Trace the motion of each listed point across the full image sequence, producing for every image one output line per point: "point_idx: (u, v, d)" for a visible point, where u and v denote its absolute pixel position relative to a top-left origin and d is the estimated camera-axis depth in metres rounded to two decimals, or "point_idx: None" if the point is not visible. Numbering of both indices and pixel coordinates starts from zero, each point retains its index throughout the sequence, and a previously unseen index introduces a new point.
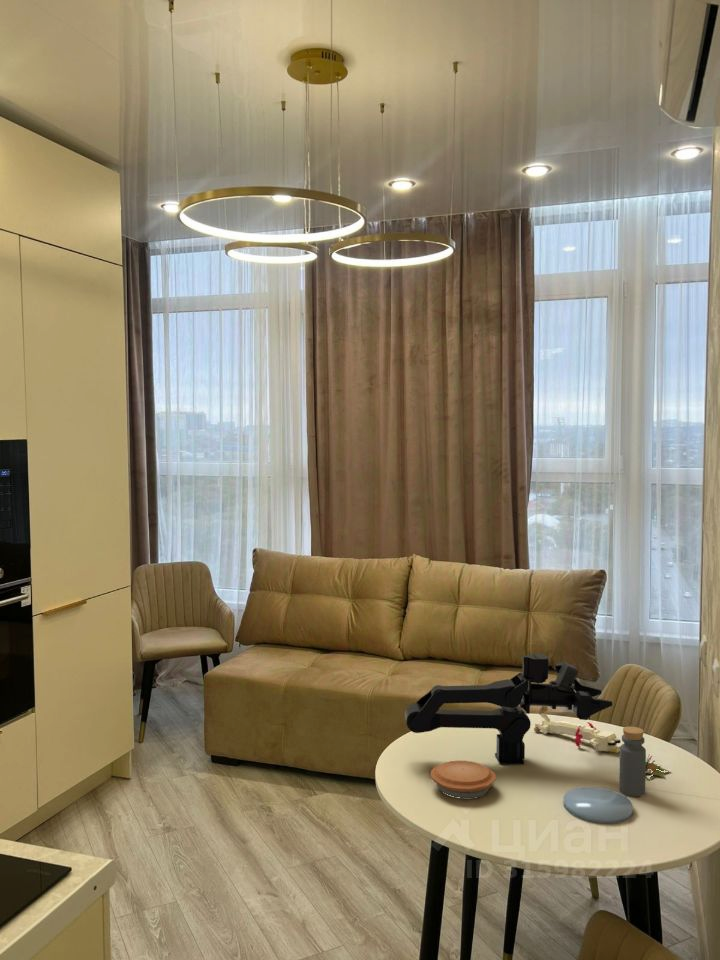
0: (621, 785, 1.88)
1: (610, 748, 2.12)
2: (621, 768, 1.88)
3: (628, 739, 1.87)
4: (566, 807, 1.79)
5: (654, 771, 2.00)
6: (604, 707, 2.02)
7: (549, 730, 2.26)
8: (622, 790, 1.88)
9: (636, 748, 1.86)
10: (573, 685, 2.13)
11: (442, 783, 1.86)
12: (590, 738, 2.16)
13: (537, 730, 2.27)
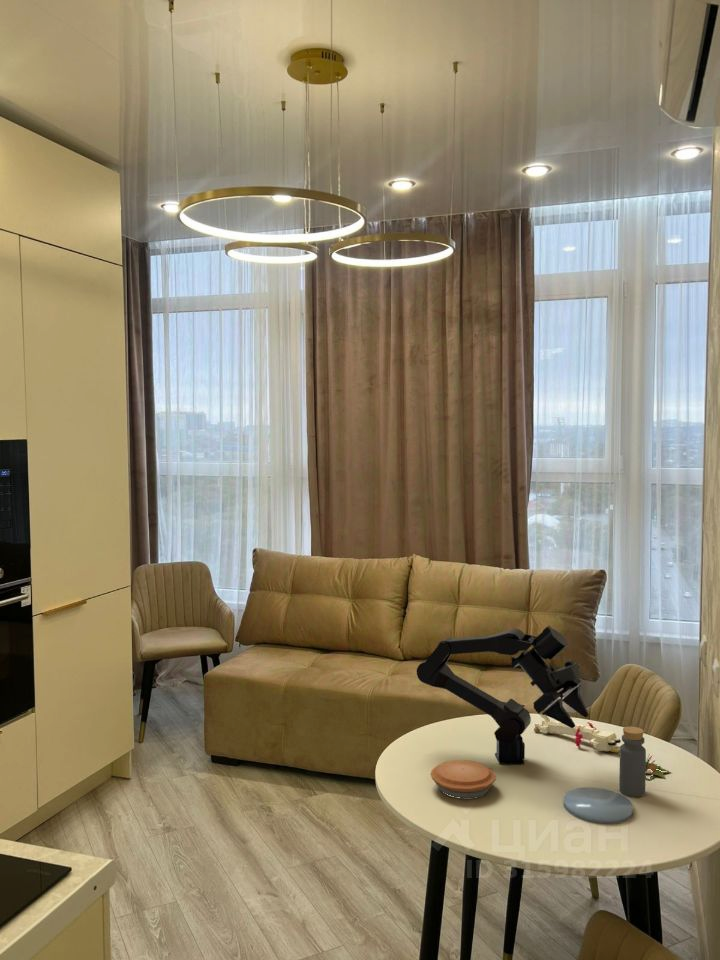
0: (621, 785, 1.88)
1: (610, 748, 2.13)
2: (621, 768, 1.88)
3: (628, 739, 1.87)
4: (566, 807, 1.79)
5: (654, 771, 2.00)
6: (564, 722, 1.94)
7: (549, 730, 2.26)
8: (622, 790, 1.88)
9: (636, 748, 1.86)
10: (572, 689, 2.04)
11: (442, 783, 1.86)
12: (590, 738, 2.17)
13: (537, 730, 2.28)
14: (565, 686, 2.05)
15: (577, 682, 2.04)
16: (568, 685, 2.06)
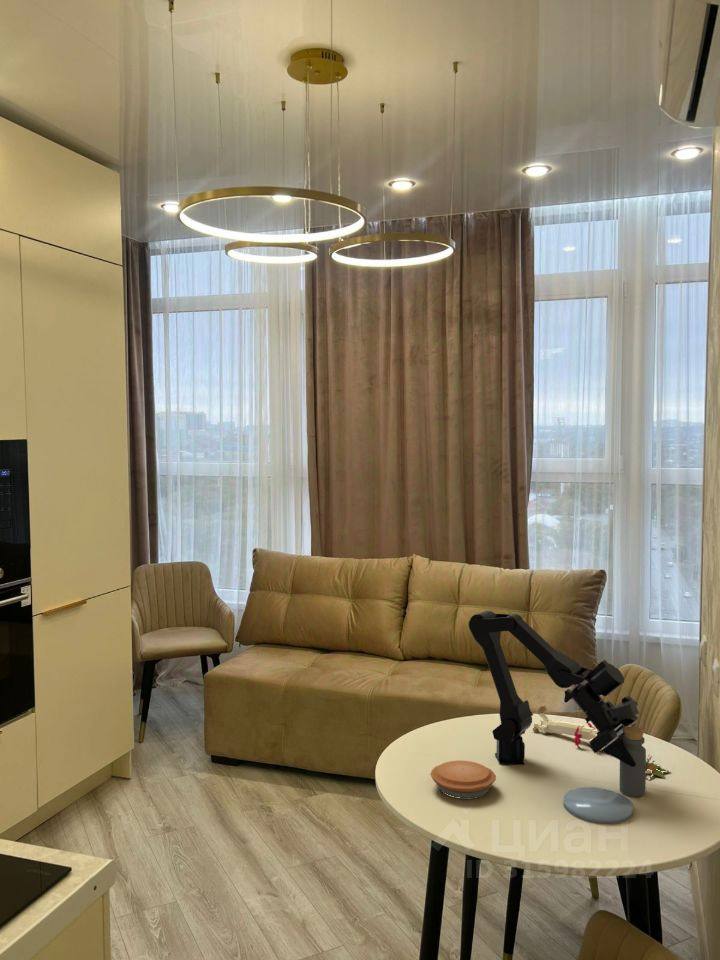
0: (621, 785, 1.88)
1: None
2: (621, 768, 1.88)
3: (628, 739, 1.87)
4: (566, 807, 1.79)
5: (654, 771, 2.00)
6: (624, 761, 1.86)
7: (548, 730, 2.26)
8: (622, 790, 1.88)
9: (636, 748, 1.86)
10: None
11: (442, 783, 1.86)
12: (589, 738, 2.17)
13: (536, 730, 2.28)
14: (621, 723, 1.95)
15: (634, 719, 1.95)
16: (622, 723, 1.95)
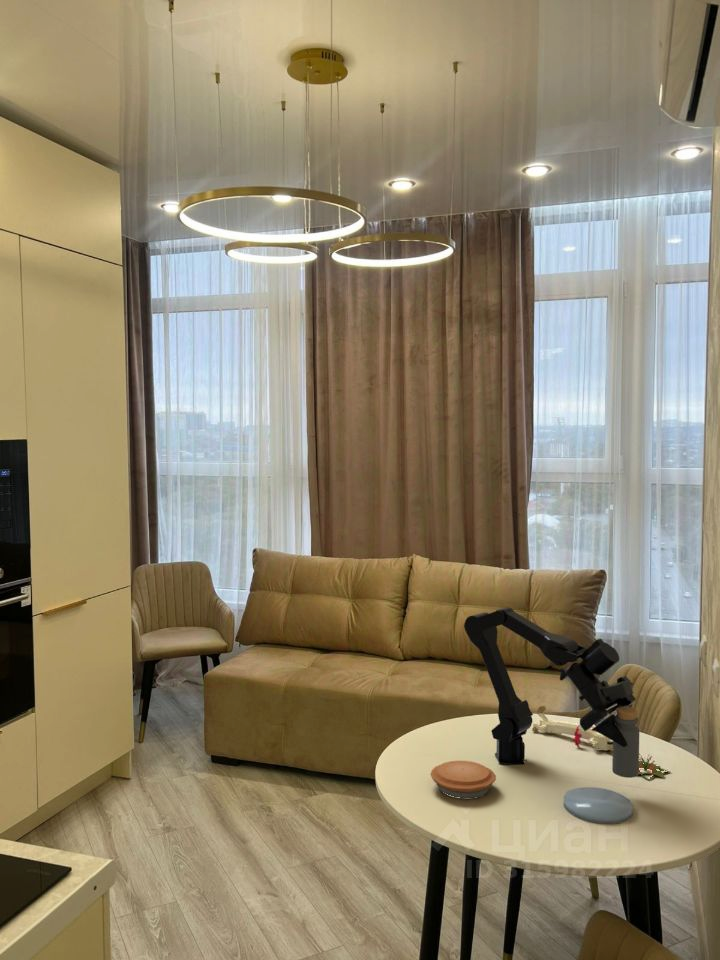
0: (613, 765, 1.86)
1: (609, 747, 2.13)
2: (613, 748, 1.86)
3: (620, 719, 1.84)
4: (566, 807, 1.79)
5: (654, 771, 2.00)
6: (615, 740, 1.84)
7: (547, 730, 2.26)
8: (614, 770, 1.85)
9: (628, 728, 1.84)
10: None
11: (442, 783, 1.86)
12: (589, 737, 2.17)
13: (535, 730, 2.28)
14: (617, 703, 1.92)
15: (631, 700, 1.92)
16: (618, 704, 1.92)
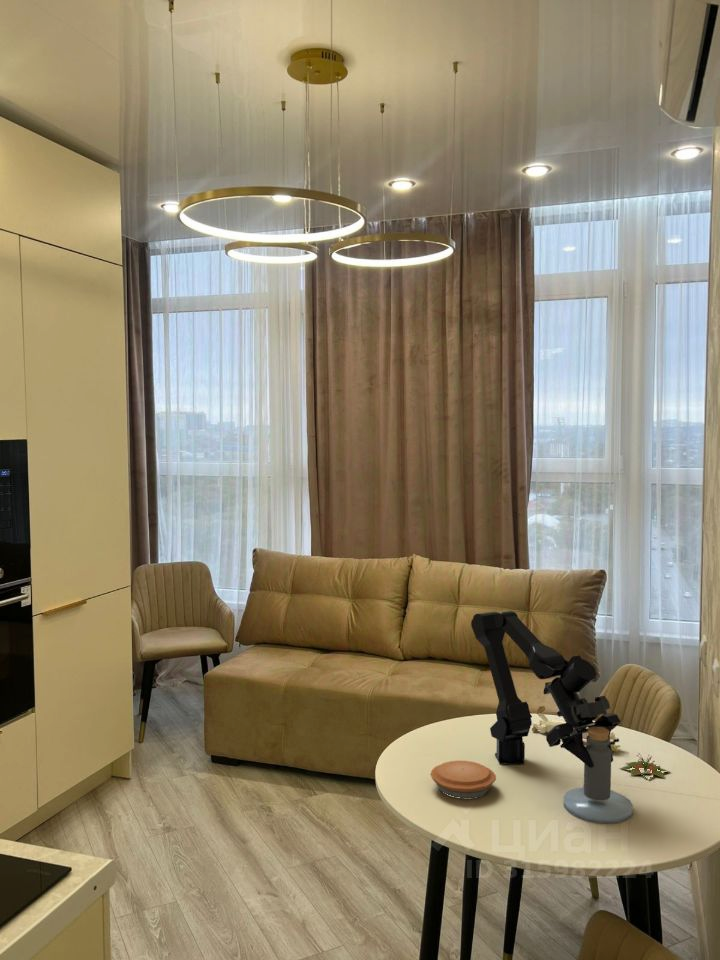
0: (584, 785, 1.81)
1: None
2: (584, 768, 1.81)
3: (589, 739, 1.79)
4: (566, 807, 1.79)
5: (654, 771, 2.00)
6: (582, 760, 1.79)
7: (547, 730, 2.26)
8: (584, 791, 1.81)
9: (597, 749, 1.78)
10: None
11: (442, 783, 1.86)
12: None
13: (535, 730, 2.28)
14: (599, 723, 1.86)
15: (613, 721, 1.85)
16: (600, 724, 1.86)
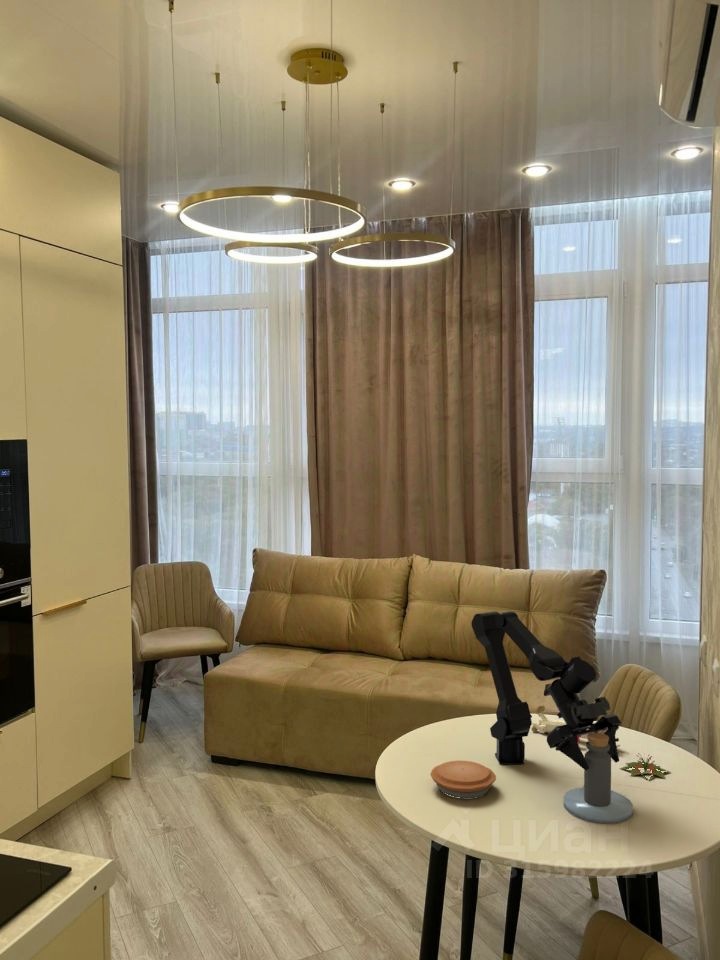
0: (584, 792, 1.81)
1: None
2: (584, 774, 1.81)
3: (589, 745, 1.79)
4: (566, 807, 1.79)
5: (654, 771, 2.00)
6: (578, 762, 1.78)
7: (547, 729, 2.26)
8: (584, 797, 1.81)
9: (597, 755, 1.78)
10: (606, 729, 1.85)
11: (442, 783, 1.86)
12: None
13: (534, 730, 2.28)
14: (600, 724, 1.86)
15: (613, 722, 1.85)
16: (605, 724, 1.87)
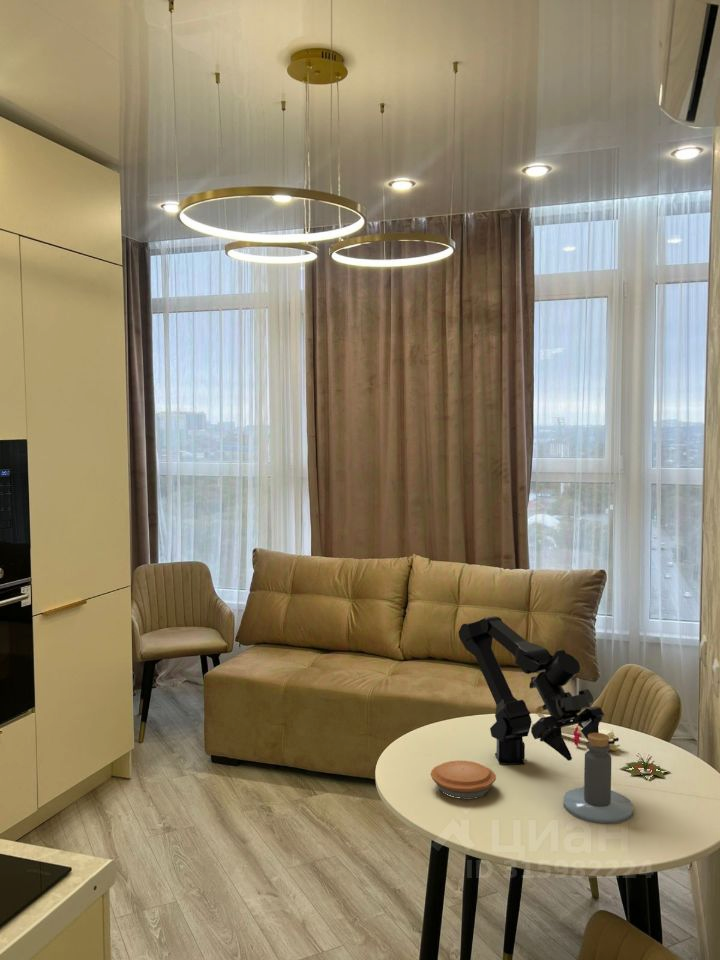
0: (584, 792, 1.81)
1: None
2: (584, 774, 1.81)
3: (589, 744, 1.79)
4: (566, 807, 1.79)
5: (654, 771, 2.00)
6: (561, 753, 1.83)
7: None
8: (584, 797, 1.81)
9: (597, 755, 1.78)
10: (590, 721, 1.90)
11: (442, 783, 1.86)
12: None
13: None
14: (583, 716, 1.91)
15: (596, 714, 1.89)
16: (589, 716, 1.92)
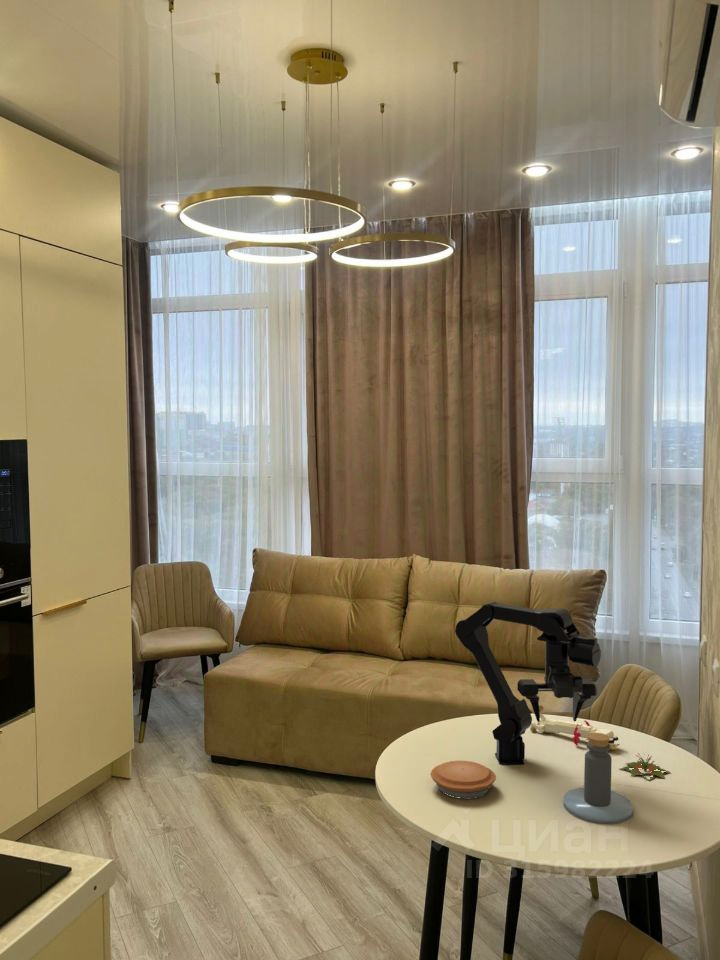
0: (584, 792, 1.81)
1: None
2: (584, 774, 1.81)
3: (589, 745, 1.79)
4: (566, 807, 1.79)
5: (654, 771, 2.00)
6: (534, 711, 2.00)
7: (545, 729, 2.26)
8: (584, 797, 1.81)
9: (597, 755, 1.78)
10: (579, 693, 1.99)
11: (442, 783, 1.86)
12: None
13: (533, 729, 2.28)
14: None
15: (586, 694, 1.97)
16: None
